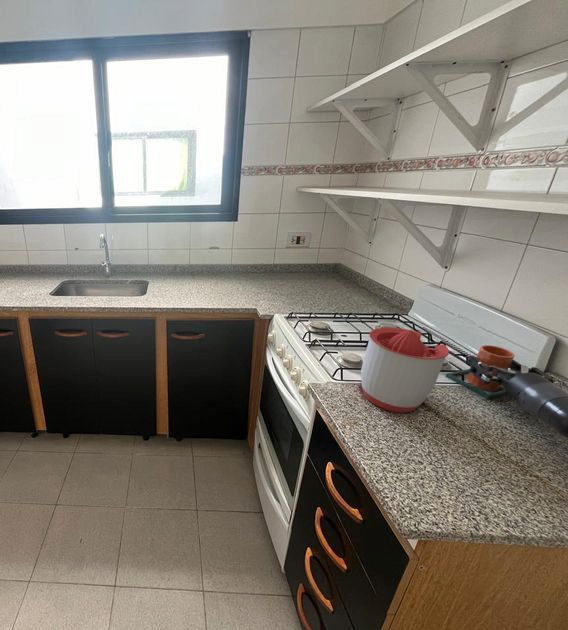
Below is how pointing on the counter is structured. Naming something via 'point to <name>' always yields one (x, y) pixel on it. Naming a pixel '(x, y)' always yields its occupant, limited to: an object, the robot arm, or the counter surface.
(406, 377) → the citrus juicer
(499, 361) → the tumbler
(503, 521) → the counter surface
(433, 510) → the counter surface
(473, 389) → the frame
